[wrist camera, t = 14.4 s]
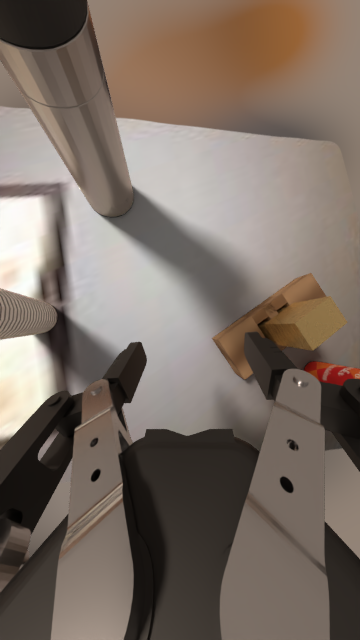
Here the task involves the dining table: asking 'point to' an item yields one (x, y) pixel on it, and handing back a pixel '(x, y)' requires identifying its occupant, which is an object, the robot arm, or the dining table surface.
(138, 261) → the dining table surface
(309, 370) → the paper cup
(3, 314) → the cup
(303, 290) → the brown flat wooden block
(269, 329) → the tan boxy piece
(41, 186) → the dining table surface
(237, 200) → the dining table surface
